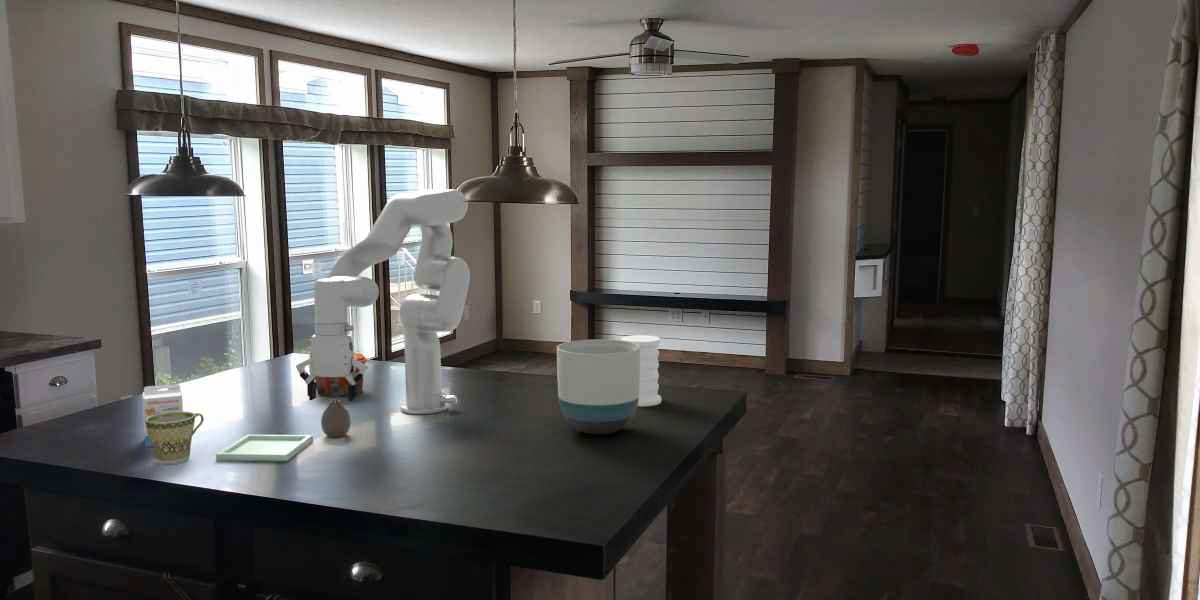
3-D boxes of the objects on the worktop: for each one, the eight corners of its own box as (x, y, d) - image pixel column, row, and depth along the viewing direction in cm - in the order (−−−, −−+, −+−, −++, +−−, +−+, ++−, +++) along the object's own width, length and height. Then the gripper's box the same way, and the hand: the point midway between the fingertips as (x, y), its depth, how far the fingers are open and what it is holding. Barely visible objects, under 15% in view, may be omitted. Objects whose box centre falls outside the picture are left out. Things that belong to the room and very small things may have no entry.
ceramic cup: (165, 470, 196) (162, 425, 195) (138, 462, 201) (135, 418, 200) (218, 454, 207) (216, 412, 206) (192, 448, 212) (189, 406, 211)
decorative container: (655, 407, 249) (655, 342, 246) (614, 404, 252) (614, 340, 250) (665, 398, 259) (666, 336, 257) (627, 395, 263) (627, 334, 261)
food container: (379, 390, 271) (378, 355, 270) (337, 401, 258) (336, 364, 256) (342, 384, 280) (340, 350, 278) (300, 394, 266) (298, 358, 265)
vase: (333, 441, 218) (331, 405, 216) (316, 436, 222) (314, 401, 221) (357, 435, 223) (355, 400, 222) (339, 430, 227) (338, 396, 226)
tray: (313, 441, 218) (312, 435, 217) (286, 461, 202) (286, 454, 202) (247, 440, 219) (247, 434, 218) (216, 460, 203) (215, 454, 202)
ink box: (145, 447, 213) (141, 391, 211) (144, 439, 220) (140, 385, 219) (185, 442, 217) (182, 388, 215) (183, 434, 224) (180, 381, 223)
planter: (599, 417, 239) (599, 336, 236) (657, 431, 225) (657, 346, 222) (540, 431, 225) (539, 346, 222) (598, 448, 210) (597, 357, 208)
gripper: (371, 328, 222) (372, 397, 224) (302, 327, 223) (303, 395, 225) (361, 332, 215) (362, 403, 216) (289, 331, 216) (291, 402, 217)
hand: (332, 399), depth 221 cm, fingers open, 9 cm apart
